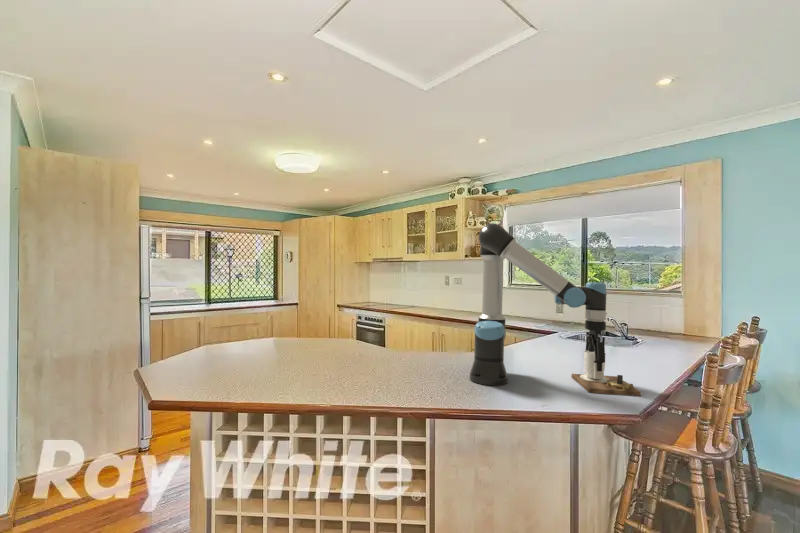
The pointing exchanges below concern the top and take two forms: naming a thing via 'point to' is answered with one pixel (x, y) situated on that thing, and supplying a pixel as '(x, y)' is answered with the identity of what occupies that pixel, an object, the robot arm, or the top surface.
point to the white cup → (591, 364)
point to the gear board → (606, 385)
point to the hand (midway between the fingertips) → (594, 376)
